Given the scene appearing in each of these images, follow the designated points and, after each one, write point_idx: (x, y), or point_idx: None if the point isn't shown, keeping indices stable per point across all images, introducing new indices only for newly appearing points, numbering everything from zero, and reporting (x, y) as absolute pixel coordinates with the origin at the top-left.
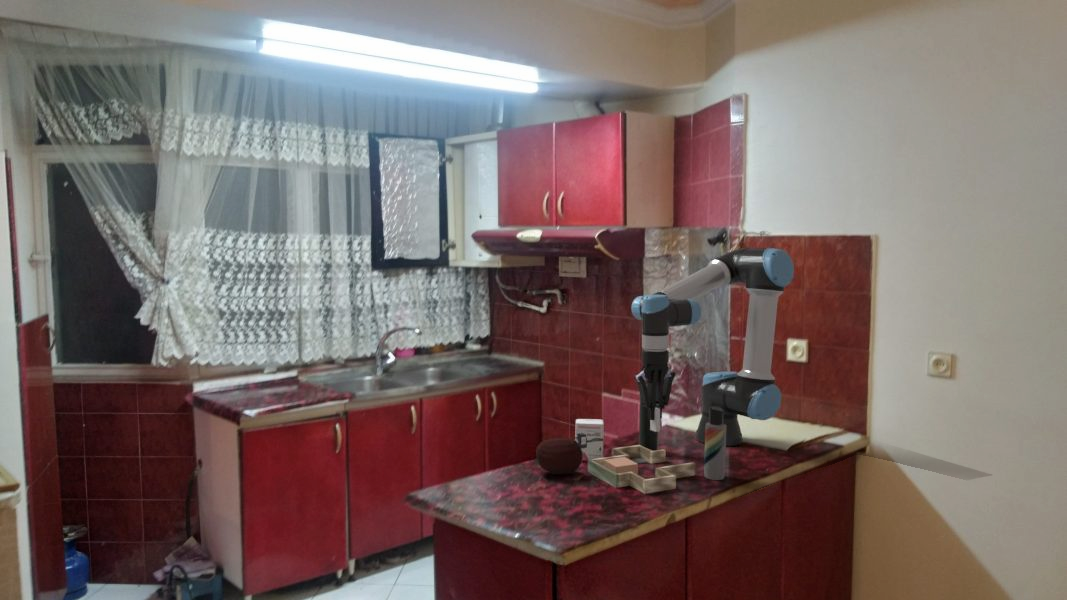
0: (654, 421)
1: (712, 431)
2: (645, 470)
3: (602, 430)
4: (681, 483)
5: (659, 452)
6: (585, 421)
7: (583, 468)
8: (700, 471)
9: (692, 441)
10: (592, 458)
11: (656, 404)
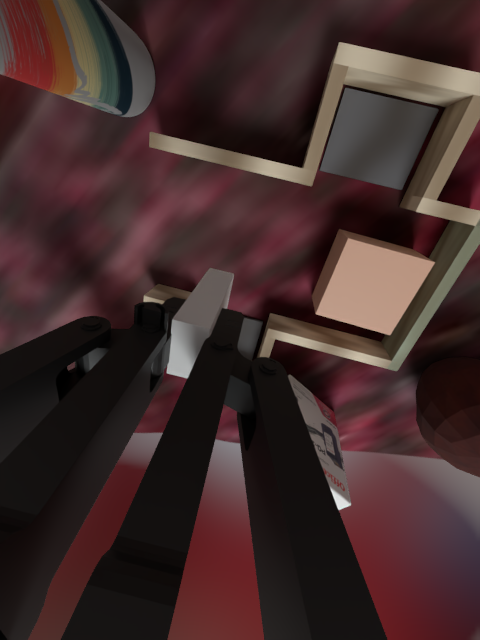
0: (223, 303)
1: None
2: (257, 267)
3: None
4: (266, 99)
5: (166, 299)
6: None
7: (369, 371)
8: (126, 156)
9: (5, 340)
10: (308, 393)
11: (159, 369)
